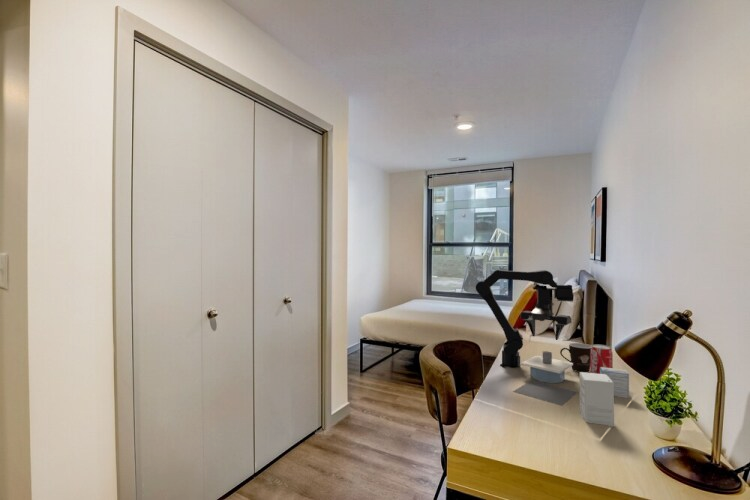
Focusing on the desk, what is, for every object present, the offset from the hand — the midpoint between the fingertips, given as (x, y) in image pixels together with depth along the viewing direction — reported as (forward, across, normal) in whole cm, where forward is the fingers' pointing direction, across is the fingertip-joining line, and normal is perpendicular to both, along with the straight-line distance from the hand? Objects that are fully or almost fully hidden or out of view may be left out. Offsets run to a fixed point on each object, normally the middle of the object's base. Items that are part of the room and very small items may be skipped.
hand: (544, 338), depth 151 cm
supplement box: (+13, +28, -36) cm, 47 cm away
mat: (+13, +10, -26) cm, 31 cm away
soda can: (+13, +20, +2) cm, 24 cm away
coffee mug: (+13, +9, +10) cm, 19 cm away
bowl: (+13, +5, -11) cm, 18 cm away
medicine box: (+13, +27, -11) cm, 32 cm away
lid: (+8, +5, -11) cm, 14 cm away
